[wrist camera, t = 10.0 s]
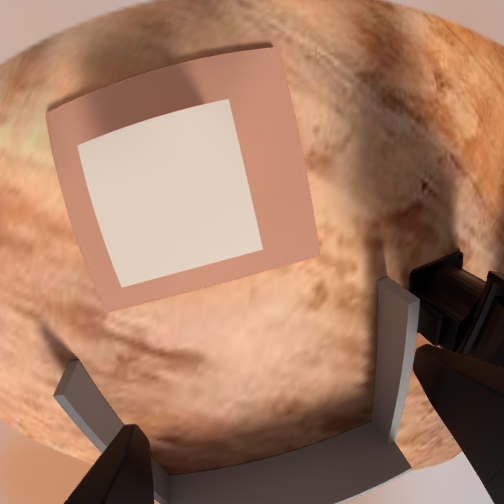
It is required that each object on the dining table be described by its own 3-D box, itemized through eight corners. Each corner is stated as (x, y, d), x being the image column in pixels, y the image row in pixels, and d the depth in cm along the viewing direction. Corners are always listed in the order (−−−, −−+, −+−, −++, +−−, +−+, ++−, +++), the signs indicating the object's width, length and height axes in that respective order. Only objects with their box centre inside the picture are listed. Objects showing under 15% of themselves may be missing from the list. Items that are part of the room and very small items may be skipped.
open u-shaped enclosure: (387, 276, 20) (459, 329, 13) (377, 422, 27) (409, 471, 19) (69, 361, 18) (35, 438, 11) (164, 479, 25) (166, 536, 17)
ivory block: (215, 124, 15) (228, 98, 8) (236, 211, 16) (263, 249, 10) (126, 149, 14) (77, 145, 8) (150, 235, 16) (121, 287, 9)
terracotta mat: (275, 50, 14) (278, 46, 14) (316, 252, 19) (320, 255, 18) (49, 114, 13) (45, 113, 12) (108, 308, 17) (106, 312, 17)
